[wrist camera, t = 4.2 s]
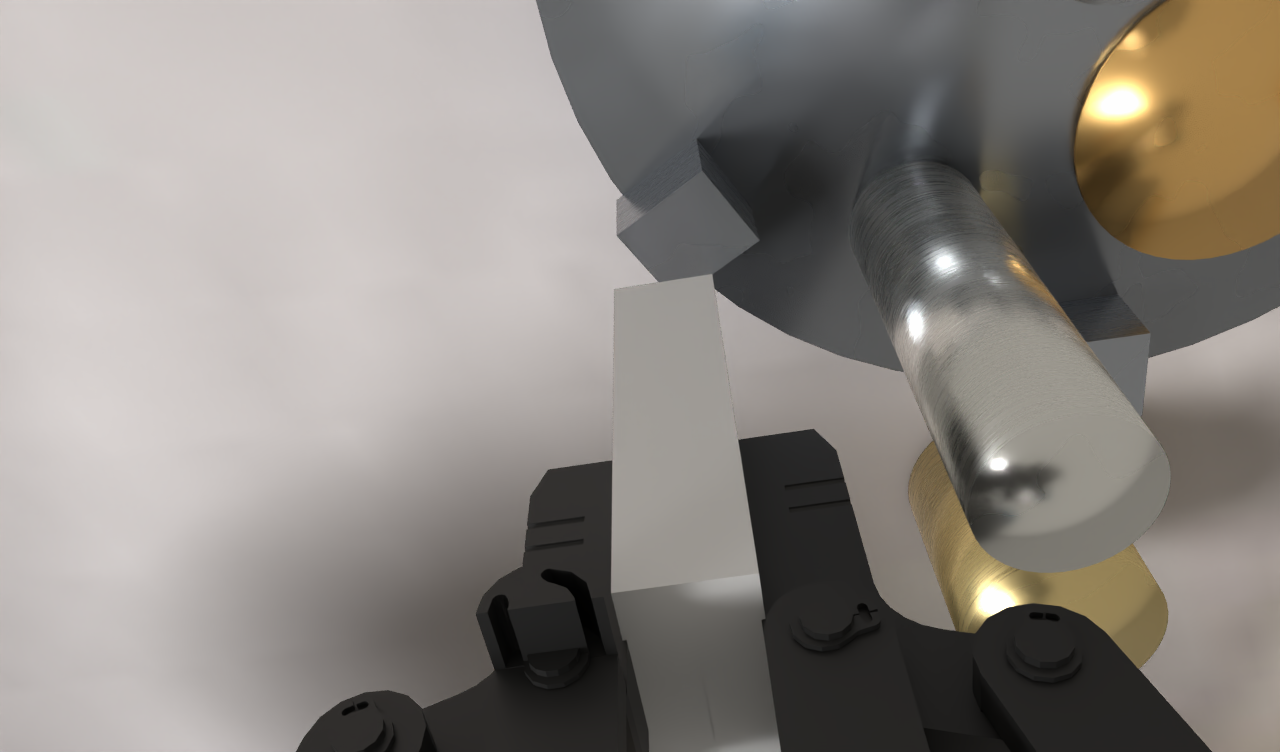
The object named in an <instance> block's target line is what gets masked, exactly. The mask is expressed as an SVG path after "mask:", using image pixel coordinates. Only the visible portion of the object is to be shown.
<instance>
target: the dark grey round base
mask: <svg viewBox="0 0 1280 752" xmlns="http://www.w3.org/2000/svg"><path fill="white" fill-rule="evenodd" d="M536 2H537V5H538V9H539V13H540V17H541V20H542V24H543V28H544V31H545V35H546V39H547V43H548V46H549V50H550V54H551V57H552V60H553V63H554V65H555V67H556V70H557V72H558V75H559V77H560V80H561V82H562V84H563V87H564V89H565V92H566V94H567V97H568V99H569V101H570V104H571V106H572V109H573V111H574V114H575V116H576V118H577V121H578V123H579V125H580V126H581V128H582V130H583V132H584V133H585V135H586V137H587V139H588V140H589V142H590V144H591V146H592V147H593V149H594V151H595V153H596V154H597V156H598V158H599V160H600V161H601V163H602V165H603V166H604V168H605V170H606V172H607V173H608V175H609V177H610V179H611V180H612V181H613V183H614V184H615V185H616V187H617V188H618V189H619V191H620V192H621V193H622V194H623V196H622V197H620V198H619V199H618V200H617V236H618V238H619V239H620V240H621V241H622V242H623V243H624V244H625V245H626V246H627V248H628V249H629V250H630V251H631V252H632V253H633V254H634V255H635V256H636V258H637V259H638V260H639V261H640V262H641V263H642V264H643V265H644V266H645V268H646V269H647V270H648V271H649V272H650V273H651V274H652V275H653V276H654V277H655V279H656V280H657V281H658V282H664V281H670V280H677V279H683V278H690V277H696V276H702V275H709V274H712V276H713V282H714V288H715V289H716V290H717V291H718V292H720V293H721V294H722V295H724V296H725V297H726V298H728V299H729V300H730V301H732V302H733V303H734V304H736V305H737V306H738V307H740V308H742V309H744V310H745V311H747V312H749V313H751V314H753V315H754V316H756V317H758V318H760V319H761V320H763V321H765V322H767V323H768V324H770V325H772V326H774V327H776V328H777V329H779V330H781V331H783V332H784V333H786V334H788V335H790V336H793V337H795V338H798V339H800V340H803V341H805V342H808V343H810V344H812V345H815V346H817V347H820V348H822V349H825V350H827V351H830V352H832V353H835V354H837V355H840V356H843V357H847V358H850V359H854V360H858V361H862V362H865V363H869V364H873V365H877V366H880V367H884V368H888V369H892V370H895V371H902V372H904V373H905V375H906V377H907V380H908V382H909V384H910V387H911V389H912V391H913V394H914V396H915V398H916V401H917V403H918V406H919V408H920V410H921V413H922V415H923V417H924V420H925V422H926V424H927V427H928V429H929V431H930V434H931V436H932V439H933V441H934V443H935V446H936V448H937V450H938V453H939V455H940V457H941V460H942V462H943V464H944V467H945V469H946V472H947V474H948V476H949V479H950V481H951V483H952V486H953V488H954V490H955V493H956V495H957V497H958V500H959V502H960V505H961V507H962V509H963V512H964V514H965V516H966V519H967V521H968V523H969V526H970V528H971V530H972V533H973V535H974V537H975V539H976V540H977V542H978V543H979V545H980V546H981V547H982V548H983V549H984V550H985V551H986V552H987V553H988V554H989V555H990V556H992V557H993V558H995V559H996V560H998V561H1000V562H1001V563H1003V564H1005V565H1008V566H1011V567H1013V568H1016V569H1020V570H1024V571H1030V572H1038V573H1055V572H1066V571H1071V570H1077V569H1081V568H1084V567H1088V566H1091V565H1094V564H1096V563H1099V562H1102V561H1104V560H1106V559H1108V558H1110V557H1112V556H1114V555H1116V554H1117V553H1119V552H1121V551H1122V550H1124V549H1126V548H1127V547H1128V546H1130V545H1131V544H1132V543H1134V542H1135V541H1136V540H1137V539H1138V538H1140V537H1141V536H1142V535H1143V534H1144V533H1145V532H1146V531H1147V530H1148V529H1149V527H1150V526H1151V525H1152V524H1153V523H1154V521H1155V520H1156V518H1157V517H1158V516H1159V514H1160V512H1161V510H1162V508H1163V507H1164V505H1165V502H1166V499H1167V497H1168V493H1169V489H1170V482H1171V472H1170V464H1169V461H1168V458H1167V455H1166V453H1165V451H1164V450H1163V448H1162V446H1161V445H1160V443H1159V442H1158V440H1157V439H1156V438H1155V436H1154V435H1153V434H1152V432H1151V431H1150V429H1149V428H1148V427H1147V425H1146V424H1145V422H1144V421H1143V420H1142V418H1141V417H1140V416H1142V412H1143V402H1144V393H1145V383H1146V373H1147V364H1148V358H1150V357H1153V356H1156V355H1160V354H1163V353H1166V352H1170V351H1173V350H1176V349H1180V348H1183V347H1186V346H1190V345H1193V344H1195V343H1198V342H1200V341H1203V340H1205V339H1207V338H1210V337H1212V336H1215V335H1217V334H1220V333H1222V332H1225V331H1227V330H1229V329H1232V328H1234V327H1237V326H1239V325H1242V324H1244V323H1247V322H1249V321H1251V320H1254V319H1256V318H1258V317H1259V316H1261V315H1263V314H1265V313H1267V312H1269V311H1271V310H1273V309H1275V308H1277V307H1279V306H1280V0H536Z"/></svg>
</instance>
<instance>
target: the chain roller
mask: <svg viewBox="0 0 1280 752" xmlns="http://www.w3.org/2000/svg"><path fill="white" fill-rule="evenodd" d="M908 495H909V502H910V505H911V509H912V511H913V514H914V517H915V520H916V522H917V525H918V528H919V531H920V533H921V536H922V539H923V542H924V544H925V547H926V550H927V552H928V555H929V558H930V561H931V563H932V566H933V569H934V572H935V574H936V577H937V580H938V583H939V585H940V588H941V591H942V594H943V596H944V599H945V602H946V605H947V607H948V610H949V613H950V615H951V618H952V621H953V624H954V626H955V629H956V631H959V632H967V633H976V632H977V630H978V629H979V628H980V627H981V625H982V624H983V623H984V621H985V620H986V619H987V618H988V617H990V616H992V615H994V614H995V613H997V612H999V611H1001V610H1003V609H1005V608H1007V607H1011V606H1018V605H1024V604H1030V603H1037V604H1046V605H1054V606H1061V607H1064V608H1066V609H1069V610H1071V611H1074V612H1076V613H1079V614H1081V615H1084V616H1086V617H1087V618H1089V619H1090V620H1091V621H1092V622H1094V623H1095V624H1096V625H1097V626H1099V627H1100V628H1101V629H1102V630H1104V631H1105V632H1106V633H1107V634H1108V635H1109V636H1110V637H1111V639H1112V640H1113V641H1114V642H1115V643H1116V644H1117V645H1118V646H1119V648H1120V649H1121V650H1122V651H1123V652H1124V653H1125V654H1126V656H1127V657H1128V658H1129V659H1130V660H1131V661H1132V662H1133V663H1134V665H1135V666H1136V667H1137V668H1138V669H1139V668H1140V667H1142V666H1143V665H1144V664H1145V663H1146V662H1147V661H1148V659H1149V658H1150V657H1151V656H1152V655H1153V653H1154V652H1155V651H1156V649H1157V648H1158V646H1159V644H1160V643H1161V641H1162V639H1163V636H1164V634H1165V631H1166V627H1167V623H1168V608H1167V602H1166V599H1165V597H1164V594H1163V592H1162V591H1161V589H1160V588H1159V586H1158V584H1157V583H1156V581H1155V579H1154V578H1153V576H1152V574H1151V573H1150V571H1149V569H1148V568H1147V566H1146V565H1145V563H1144V561H1143V560H1142V558H1141V556H1140V555H1139V553H1138V551H1137V550H1136V548H1135V547H1134V545H1133V543H1132V544H1131V545H1130V546H1128V547H1127V548H1126V549H1124V550H1122V551H1121V552H1119V553H1117V554H1116V555H1114V556H1112V557H1110V558H1108V559H1106V560H1104V561H1102V562H1099V563H1096V564H1094V565H1091V566H1088V567H1084V568H1081V569H1077V570H1071V571H1066V572H1055V573H1038V572H1030V571H1024V570H1020V569H1016V568H1013V567H1011V566H1008V565H1005V564H1003V563H1001V562H1000V561H998V560H996V559H995V558H993V557H992V556H990V555H989V554H988V553H987V552H986V551H985V550H984V549H983V548H982V547H981V546H980V545H979V543H978V542H977V540H976V539H975V537H974V535H973V533H972V530H971V528H970V526H969V523H968V521H967V519H966V516H965V514H964V512H963V509H962V507H961V505H960V502H959V500H958V497H957V495H956V493H955V490H954V488H953V486H952V483H951V481H950V479H949V476H948V474H947V472H946V469H945V467H944V464H943V462H942V460H941V457H940V455H939V453H938V450H937V448H936V446H935V443H934V441H932V442H931V443H930V444H929V446H928V447H927V448H926V449H925V450H924V451H923V453H922V454H921V455H920V457H919V458H918V460H917V462H916V464H915V465H914V467H913V470H912V473H911V475H910V480H909V487H908Z"/></svg>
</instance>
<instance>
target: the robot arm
mask: <svg viewBox="0 0 1280 752" xmlns="http://www.w3.org/2000/svg"><path fill="white" fill-rule="evenodd" d="M527 525H528V529H527V531H526V540H525V552H524V558H523V567H521V568H518V569H516V570H515V571H513V572H511V573H510V574H508V575H506V576H504V577H503V578H501V579H499V580H498V581H497V582H496V583H495V584H494V585H493V586H492V587H491V588H490V589H489V590H488V591H487V592H486V593H485V595H484V596H483V597H482V600H481V602H480V605H479V607H478V610H477V612H476V616H477V619H478V622H479V625H480V628H481V631H482V634H483V637H484V640H485V643H486V646H487V649H488V652H489V655H490V658H491V661H492V664H493V667H494V670H495V671H494V672H493V673H492V674H491V675H490V676H488V677H487V678H486V679H484V680H483V681H482V682H480V683H479V684H478V685H476V686H474V687H472V688H470V689H468V690H466V691H464V692H463V693H461V694H459V695H456V696H454V697H451V698H449V699H446V700H444V701H441V702H439V703H436V704H434V705H431V706H429V707H426V708H424V709H421V707H420V706H419V705H418V704H416V703H415V702H414V701H413V700H412V699H411V698H410V697H409V696H407V695H404V694H400V693H396V692H392V691H388V690H387V691H377V692H366V693H363V694H360V695H358V696H355V697H352V698H350V699H347V700H345V701H342V702H340V703H339V704H338V705H336V706H335V707H333V708H332V709H331V710H329V711H328V712H327V713H325V714H324V715H322V716H321V717H320V718H319V719H318V720H317V722H316V723H315V724H314V725H313V727H312V728H311V729H310V730H309V732H308V733H307V734H306V735H305V737H304V738H303V740H302V742H301V744H300V745H299V747H298V749H297V751H296V752H649V750H650V752H1212V751H1211V750H1210V749H1209V748H1208V747H1207V746H1206V745H1205V743H1204V742H1203V741H1202V740H1201V739H1200V738H1199V737H1198V735H1197V734H1196V733H1195V732H1194V731H1193V730H1192V729H1191V728H1190V726H1189V725H1188V724H1187V723H1186V722H1185V721H1184V720H1183V719H1182V717H1181V716H1180V715H1179V714H1178V713H1177V712H1176V711H1175V710H1174V708H1173V707H1172V706H1171V705H1170V704H1169V703H1168V702H1167V701H1166V699H1165V698H1164V697H1163V696H1162V695H1161V694H1160V693H1159V692H1158V690H1157V689H1156V688H1155V687H1154V686H1153V685H1152V684H1151V683H1150V681H1149V680H1148V679H1147V678H1146V677H1145V676H1144V675H1143V674H1142V672H1141V671H1140V670H1139V669H1138V668H1137V667H1136V666H1135V665H1134V663H1133V662H1132V661H1131V660H1130V659H1129V658H1128V657H1127V656H1126V654H1125V653H1124V652H1123V651H1122V650H1121V649H1120V648H1119V646H1118V645H1117V644H1116V643H1115V642H1114V641H1113V640H1112V639H1111V637H1110V636H1109V635H1108V634H1107V633H1106V632H1105V631H1104V630H1102V629H1101V628H1100V627H1099V626H1097V625H1096V624H1095V623H1094V622H1092V621H1091V620H1090V619H1089V618H1087V617H1086V616H1084V615H1081V614H1079V613H1076V612H1074V611H1071V610H1069V609H1066V608H1064V607H1061V606H1054V605H1046V604H1037V603H1030V604H1024V605H1018V606H1011V607H1007V608H1005V609H1003V610H1001V611H999V612H997V613H995V614H994V615H992V616H990V617H988V618H987V619H986V620H985V621H984V623H983V624H982V625H981V627H980V628H979V629H978V630H977V632H976V633H967V632H959V631H951V630H943V629H938V628H934V627H929V626H924V625H921V624H919V623H916V622H914V621H912V620H909V619H907V618H905V617H903V616H902V615H900V614H899V613H897V612H896V611H894V610H893V609H891V608H890V607H889V606H888V605H887V603H886V602H885V601H884V600H883V599H882V598H881V597H880V595H879V593H878V591H877V589H876V587H875V585H874V582H873V579H872V575H871V572H870V568H869V565H868V561H867V558H866V554H865V550H864V547H863V543H862V540H861V536H860V533H859V529H858V526H857V522H856V519H855V515H854V512H853V508H852V505H851V503H850V497H849V494H848V490H847V487H846V483H845V482H844V476H843V473H842V469H841V465H840V462H839V458H838V455H837V451H836V450H835V449H834V448H833V447H832V446H831V445H830V444H829V443H828V442H827V441H826V440H825V439H824V438H823V437H822V436H820V435H819V434H818V433H817V432H816V431H815V430H814V429H810V430H803V431H796V432H789V433H782V434H775V435H769V436H762V437H755V438H748V439H741V440H738V436H737V430H736V423H735V417H734V410H733V404H732V398H731V391H730V385H729V378H728V372H727V365H726V359H725V353H724V346H723V340H722V333H721V327H720V321H719V314H718V308H717V301H716V295H715V289H714V282H713V276H712V274H709V275H702V276H696V277H690V278H683V279H677V280H670V281H664V282H657V283H651V284H645V285H638V286H632V287H625V288H619V289H614V358H613V453H612V461H605V462H598V463H591V464H584V465H577V466H570V467H564V468H557V469H550V470H548V471H547V473H546V474H545V476H544V477H543V478H542V480H541V481H540V483H539V484H538V486H537V487H536V489H535V490H534V492H533V493H532V495H531V496H530V504H529V513H528V522H527Z"/></svg>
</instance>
